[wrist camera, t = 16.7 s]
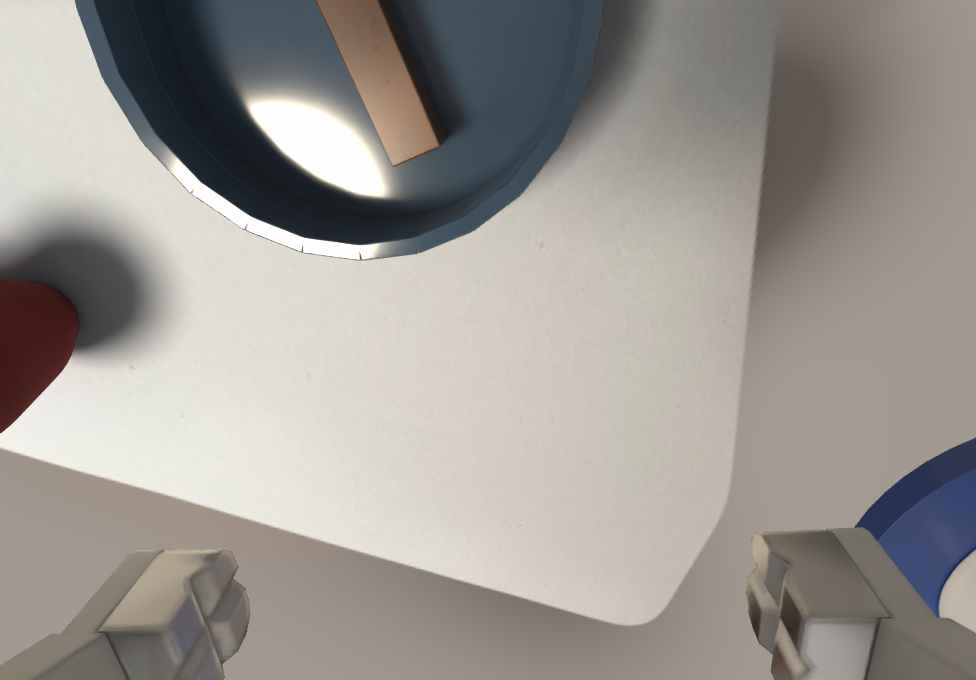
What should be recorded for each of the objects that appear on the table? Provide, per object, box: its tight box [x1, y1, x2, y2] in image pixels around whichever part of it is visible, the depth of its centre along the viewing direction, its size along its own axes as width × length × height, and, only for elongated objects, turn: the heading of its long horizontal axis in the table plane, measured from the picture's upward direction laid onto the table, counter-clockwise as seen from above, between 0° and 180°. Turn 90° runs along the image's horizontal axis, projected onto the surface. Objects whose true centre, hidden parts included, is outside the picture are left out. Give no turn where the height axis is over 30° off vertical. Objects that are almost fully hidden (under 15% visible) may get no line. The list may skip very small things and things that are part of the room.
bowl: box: [75, 0, 605, 261], centre depth 26 cm, size 21×21×6 cm
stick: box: [316, 0, 447, 167], centre depth 26 cm, size 13×2×3 cm, turn 22°
